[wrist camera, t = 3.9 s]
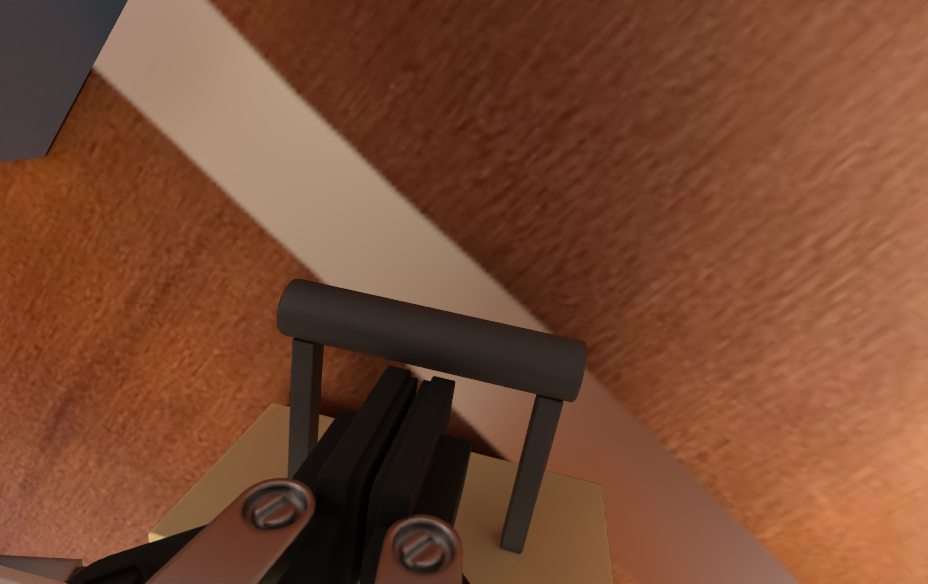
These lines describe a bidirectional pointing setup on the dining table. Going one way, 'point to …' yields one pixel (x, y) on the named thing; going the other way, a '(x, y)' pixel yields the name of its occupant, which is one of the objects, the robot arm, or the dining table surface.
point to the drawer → (488, 479)
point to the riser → (46, 66)
